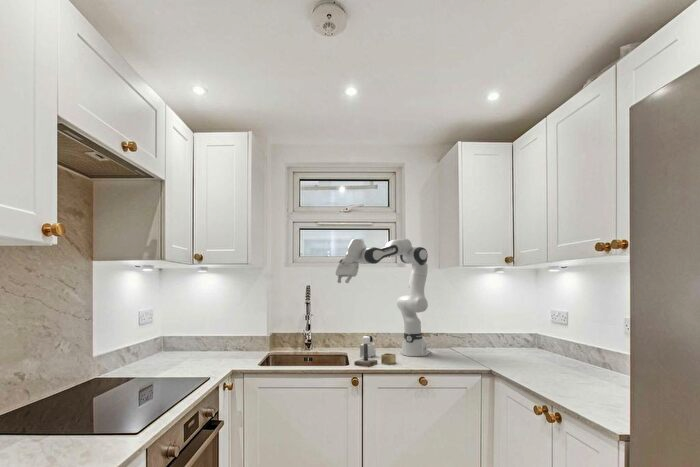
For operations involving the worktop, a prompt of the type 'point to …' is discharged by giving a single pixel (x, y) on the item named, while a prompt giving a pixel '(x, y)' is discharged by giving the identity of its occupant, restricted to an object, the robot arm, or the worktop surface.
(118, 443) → the worktop surface
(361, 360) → the post board
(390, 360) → the collar
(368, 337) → the container
